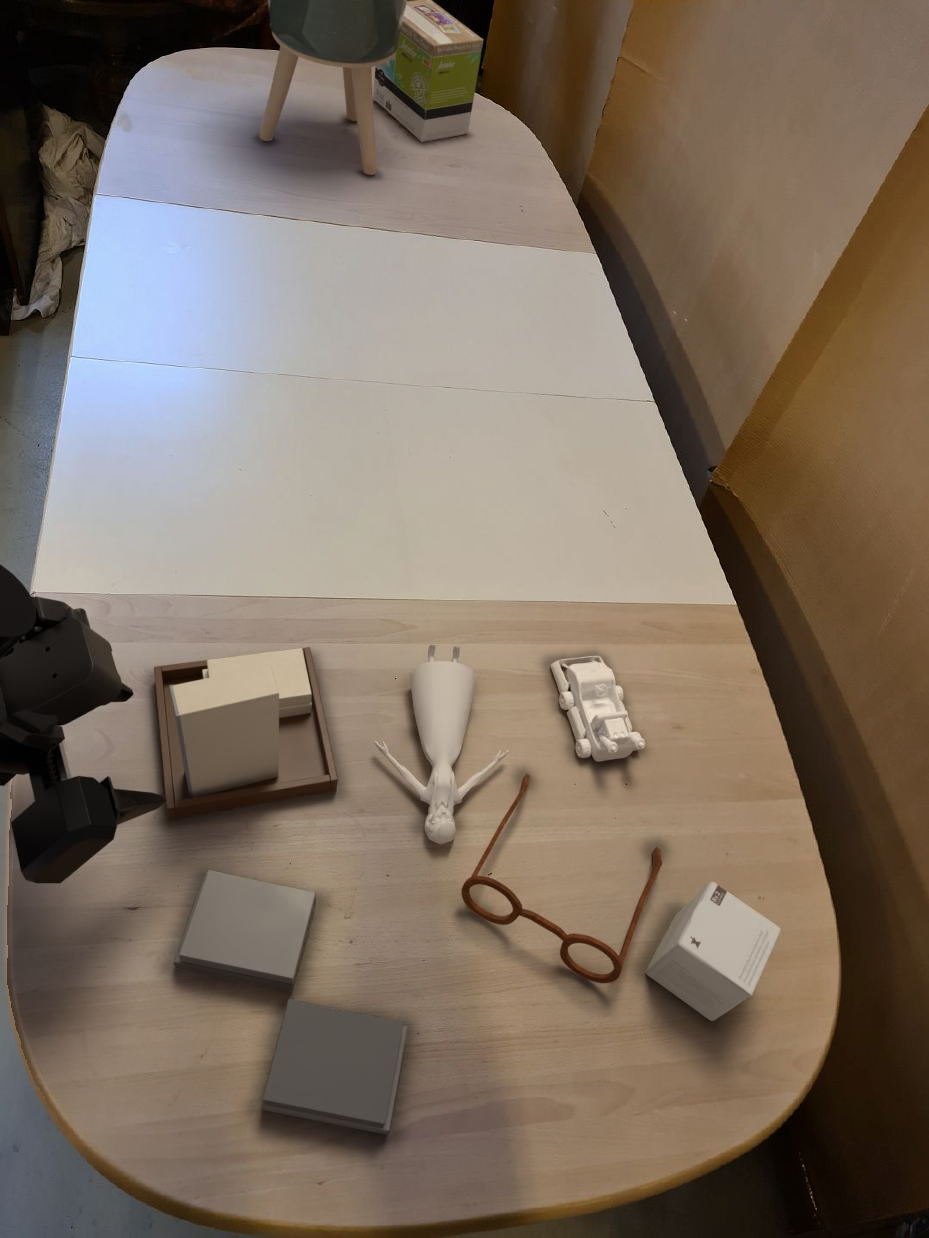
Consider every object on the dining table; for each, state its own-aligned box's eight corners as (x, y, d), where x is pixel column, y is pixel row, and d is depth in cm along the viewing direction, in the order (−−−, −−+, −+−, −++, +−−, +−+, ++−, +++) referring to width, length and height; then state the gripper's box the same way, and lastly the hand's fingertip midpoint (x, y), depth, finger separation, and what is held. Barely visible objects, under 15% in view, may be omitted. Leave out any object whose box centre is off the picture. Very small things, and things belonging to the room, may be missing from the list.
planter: (362, 106, 147) (380, -148, 121) (423, 172, 137) (458, -89, 111) (236, 115, 138) (227, -158, 112) (293, 187, 128) (297, -94, 102)
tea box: (370, 101, 148) (378, 0, 137) (418, 94, 153) (430, -4, 141) (420, 144, 142) (434, 42, 131) (469, 135, 147) (486, 37, 135)
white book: (190, 799, 70) (176, 716, 59) (184, 771, 71) (169, 685, 61) (278, 777, 72) (279, 693, 62) (271, 750, 73) (270, 664, 63)
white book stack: (209, 728, 73) (207, 710, 71) (203, 678, 76) (200, 659, 74) (311, 713, 76) (312, 695, 74) (301, 665, 79) (302, 646, 76)
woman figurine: (511, 642, 79) (518, 838, 69) (501, 667, 83) (506, 855, 73) (381, 631, 77) (370, 829, 68) (377, 656, 81) (365, 848, 71)
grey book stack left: (175, 968, 63) (171, 955, 60) (205, 880, 67) (202, 865, 64) (292, 992, 63) (293, 981, 61) (315, 904, 67) (317, 890, 65)
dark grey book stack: (261, 1109, 58) (260, 1102, 56) (288, 1006, 62) (288, 995, 60) (387, 1134, 59) (391, 1128, 56) (405, 1030, 63) (410, 1020, 60)
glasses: (454, 903, 69) (465, 880, 65) (524, 775, 77) (537, 748, 73) (605, 992, 67) (626, 974, 63) (661, 851, 74) (683, 827, 70)
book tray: (169, 820, 69) (166, 809, 67) (156, 679, 76) (153, 666, 74) (336, 790, 73) (338, 779, 71) (309, 659, 80) (310, 646, 78)
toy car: (602, 657, 86) (616, 631, 82) (645, 767, 79) (662, 744, 76) (544, 664, 84) (555, 638, 81) (583, 777, 77) (597, 753, 74)
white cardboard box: (711, 1023, 67) (753, 998, 61) (642, 973, 68) (677, 943, 62) (742, 958, 70) (784, 928, 64) (675, 911, 71) (711, 878, 66)
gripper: (46, 774, 44) (263, 798, 57) (-16, 510, 53) (183, 583, 66) (-84, 889, 47) (150, 887, 60) (-121, 621, 56) (89, 670, 69)
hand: (145, 747), depth 63 cm, fingers open, 9 cm apart
